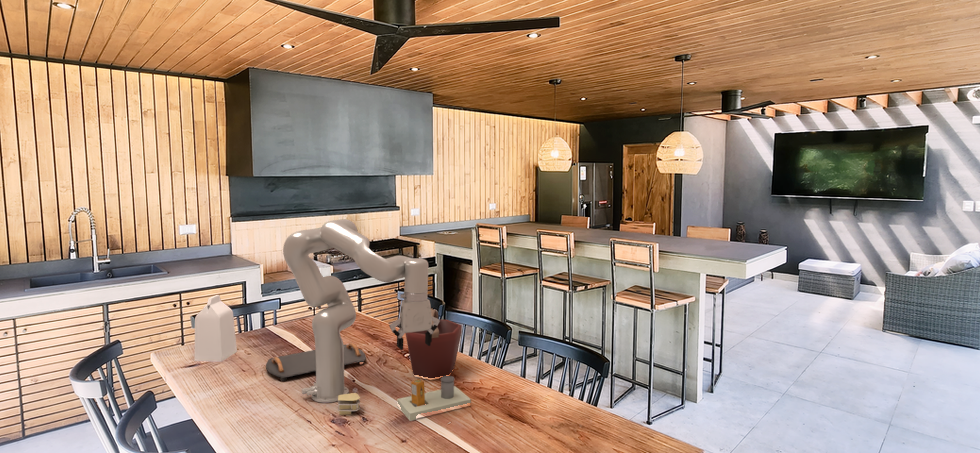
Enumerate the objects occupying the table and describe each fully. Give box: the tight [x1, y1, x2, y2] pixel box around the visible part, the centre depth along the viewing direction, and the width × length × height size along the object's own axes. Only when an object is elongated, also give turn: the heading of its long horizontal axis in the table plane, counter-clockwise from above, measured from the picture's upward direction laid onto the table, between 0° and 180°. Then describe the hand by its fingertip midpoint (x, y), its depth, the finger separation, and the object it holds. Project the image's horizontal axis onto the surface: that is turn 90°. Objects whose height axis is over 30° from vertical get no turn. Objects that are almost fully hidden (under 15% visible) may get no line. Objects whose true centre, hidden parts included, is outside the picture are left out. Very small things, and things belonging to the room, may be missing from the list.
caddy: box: [396, 375, 472, 422], centre depth 169 cm, size 22×12×9 cm, turn 120°
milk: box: [194, 294, 238, 363], centre depth 212 cm, size 12×12×26 cm
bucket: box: [404, 308, 463, 378], centre depth 198 cm, size 24×22×25 cm
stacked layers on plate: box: [337, 392, 361, 416], centre depth 164 cm, size 10×9×6 cm
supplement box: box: [410, 378, 426, 407], centre depth 166 cm, size 3×3×10 cm
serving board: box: [265, 342, 367, 382], centre depth 205 cm, size 39×23×6 cm, turn 126°
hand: (414, 346), depth 166 cm, fingers open, 9 cm apart
